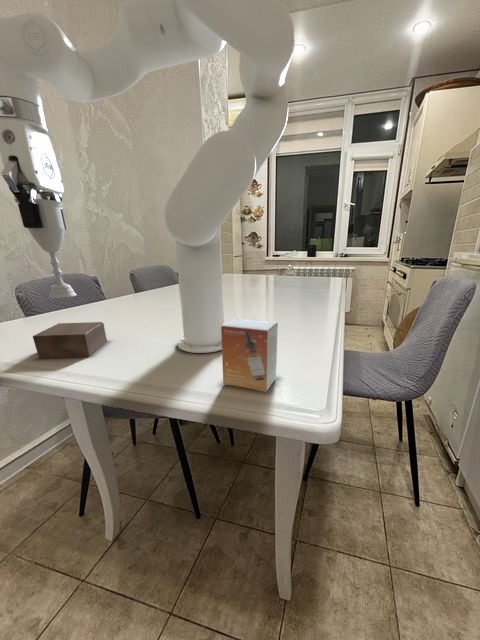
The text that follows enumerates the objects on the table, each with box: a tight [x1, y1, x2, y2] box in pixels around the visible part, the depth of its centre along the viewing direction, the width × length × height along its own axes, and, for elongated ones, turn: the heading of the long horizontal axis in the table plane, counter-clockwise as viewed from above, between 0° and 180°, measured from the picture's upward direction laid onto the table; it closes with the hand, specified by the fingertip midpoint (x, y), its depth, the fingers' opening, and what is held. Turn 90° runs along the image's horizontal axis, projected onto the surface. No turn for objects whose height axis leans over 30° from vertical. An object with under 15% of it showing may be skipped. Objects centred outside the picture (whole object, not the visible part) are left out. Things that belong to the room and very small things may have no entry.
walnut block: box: [32, 321, 108, 360], centre depth 65 cm, size 10×10×5 cm
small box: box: [221, 317, 279, 393], centre depth 49 cm, size 8×6×10 cm
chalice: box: [18, 198, 78, 299], centre depth 58 cm, size 7×7×18 cm
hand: (46, 228), depth 57 cm, fingers closed on chalice, 7 cm apart
